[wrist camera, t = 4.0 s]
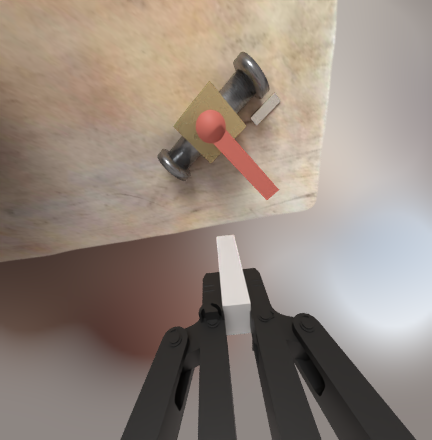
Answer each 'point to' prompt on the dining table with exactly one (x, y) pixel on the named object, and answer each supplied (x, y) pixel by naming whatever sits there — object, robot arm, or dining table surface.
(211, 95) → the valve
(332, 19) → the dining table surface
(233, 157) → the lever
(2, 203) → the dining table surface
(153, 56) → the dining table surface
